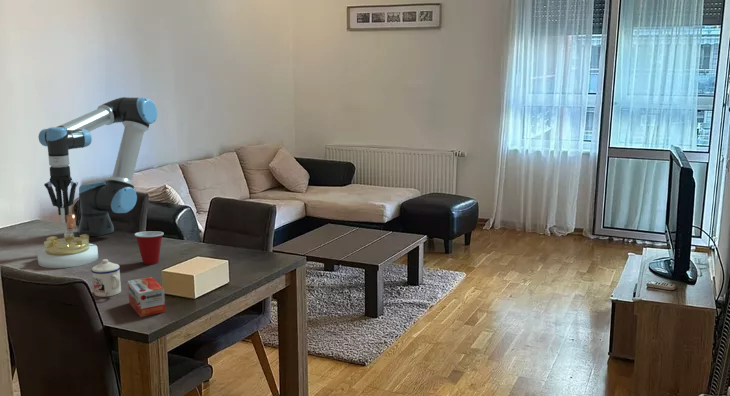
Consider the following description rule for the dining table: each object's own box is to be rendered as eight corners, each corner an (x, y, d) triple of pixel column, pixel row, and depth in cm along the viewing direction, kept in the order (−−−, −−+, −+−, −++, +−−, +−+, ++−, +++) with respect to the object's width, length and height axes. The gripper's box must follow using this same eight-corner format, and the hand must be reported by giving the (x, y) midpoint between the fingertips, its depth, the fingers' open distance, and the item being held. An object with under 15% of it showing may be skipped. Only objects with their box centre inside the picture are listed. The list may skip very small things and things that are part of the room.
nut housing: (94, 249, 292) (93, 239, 291) (102, 262, 273) (101, 252, 272) (36, 257, 282) (35, 247, 281) (40, 271, 263) (39, 260, 262)
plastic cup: (171, 259, 276) (169, 230, 274) (154, 267, 266) (152, 236, 264) (148, 257, 280) (145, 228, 278) (130, 265, 270) (128, 234, 268)
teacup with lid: (88, 293, 238) (85, 260, 235) (112, 286, 244) (110, 254, 242) (107, 301, 230) (104, 267, 228) (132, 293, 237) (129, 260, 235)
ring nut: (86, 253, 271) (83, 225, 269) (41, 256, 267) (38, 227, 265) (93, 239, 293) (91, 212, 290) (52, 241, 289) (50, 214, 287)
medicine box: (128, 303, 228) (126, 280, 227) (153, 298, 232) (152, 275, 231) (140, 317, 215) (138, 293, 214) (166, 312, 220) (165, 288, 218)
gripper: (39, 167, 278) (44, 225, 283) (72, 167, 279) (77, 224, 284) (46, 164, 286) (52, 220, 291) (79, 164, 286) (83, 220, 291)
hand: (64, 222), depth 287 cm, fingers closed
